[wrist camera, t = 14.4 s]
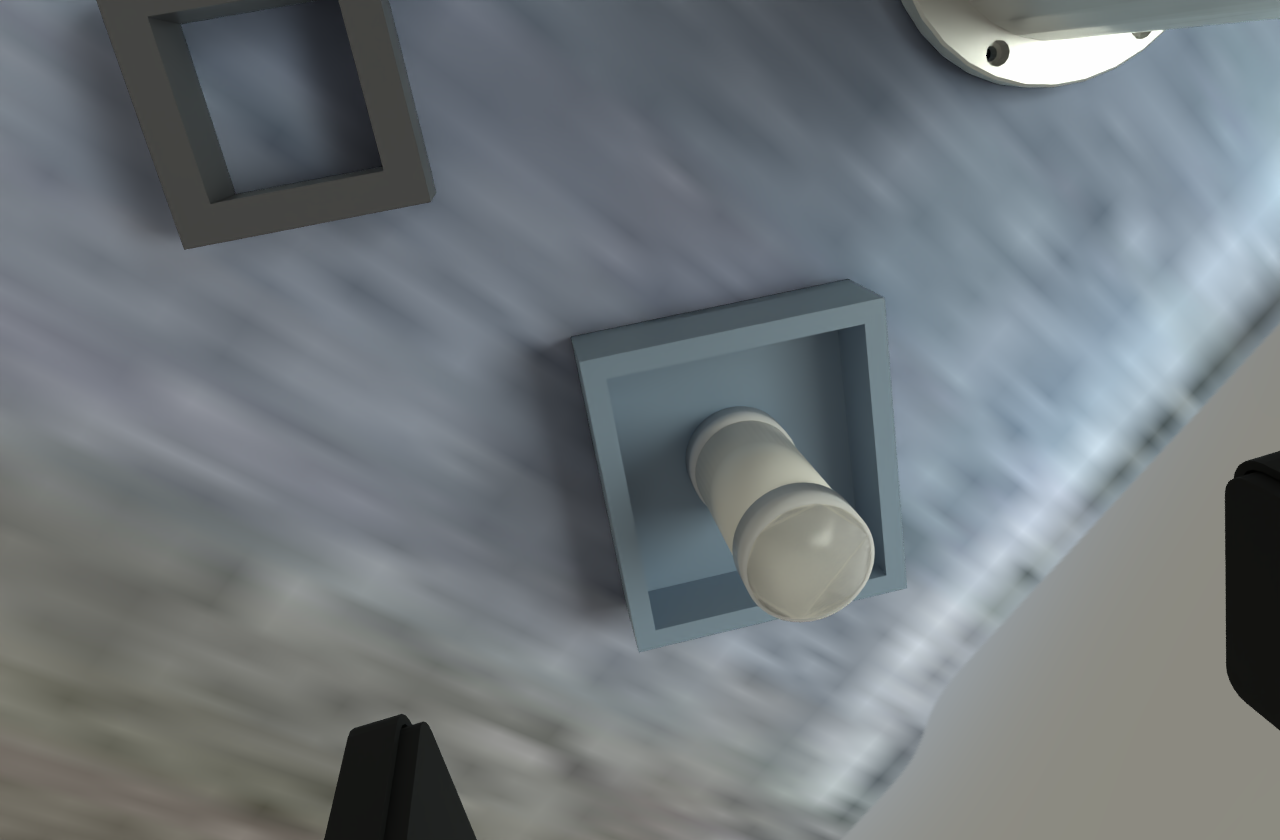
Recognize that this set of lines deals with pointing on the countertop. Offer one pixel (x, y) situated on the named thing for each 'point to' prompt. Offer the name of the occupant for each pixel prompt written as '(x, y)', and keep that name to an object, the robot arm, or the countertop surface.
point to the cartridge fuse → (778, 516)
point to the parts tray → (722, 378)
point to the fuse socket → (189, 149)
